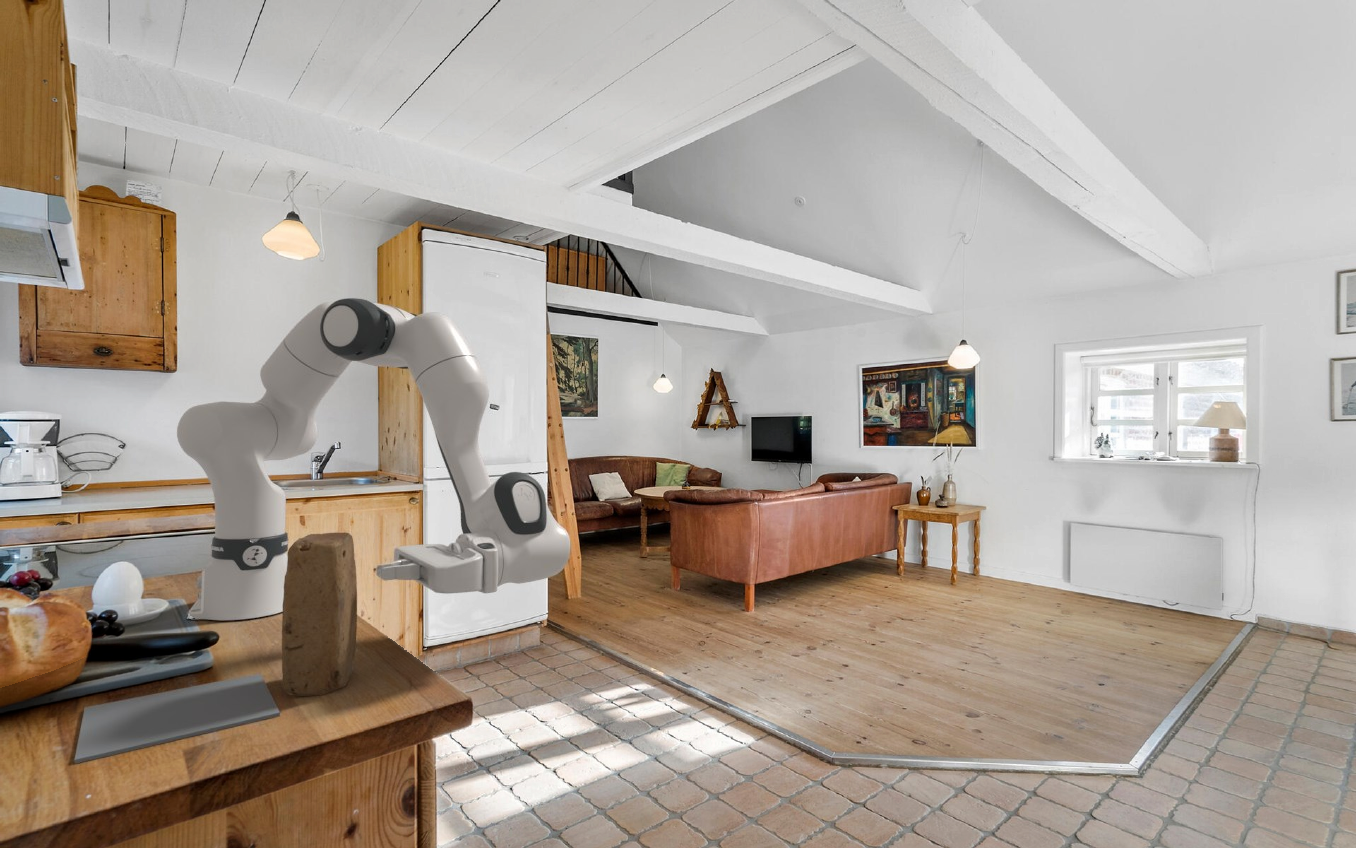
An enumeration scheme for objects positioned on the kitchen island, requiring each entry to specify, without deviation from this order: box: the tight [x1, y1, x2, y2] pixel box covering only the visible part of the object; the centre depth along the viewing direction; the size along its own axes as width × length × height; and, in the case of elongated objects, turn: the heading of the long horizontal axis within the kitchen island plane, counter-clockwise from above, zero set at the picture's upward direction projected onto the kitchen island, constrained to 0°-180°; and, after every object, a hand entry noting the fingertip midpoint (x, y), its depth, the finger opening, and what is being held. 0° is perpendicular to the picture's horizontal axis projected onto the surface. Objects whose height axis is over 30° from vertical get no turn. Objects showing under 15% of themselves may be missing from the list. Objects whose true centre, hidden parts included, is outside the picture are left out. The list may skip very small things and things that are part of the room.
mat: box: [73, 672, 281, 765], centre depth 78 cm, size 16×18×1 cm
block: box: [281, 532, 358, 697], centre depth 88 cm, size 11×8×20 cm
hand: (379, 572), depth 92 cm, fingers closed
